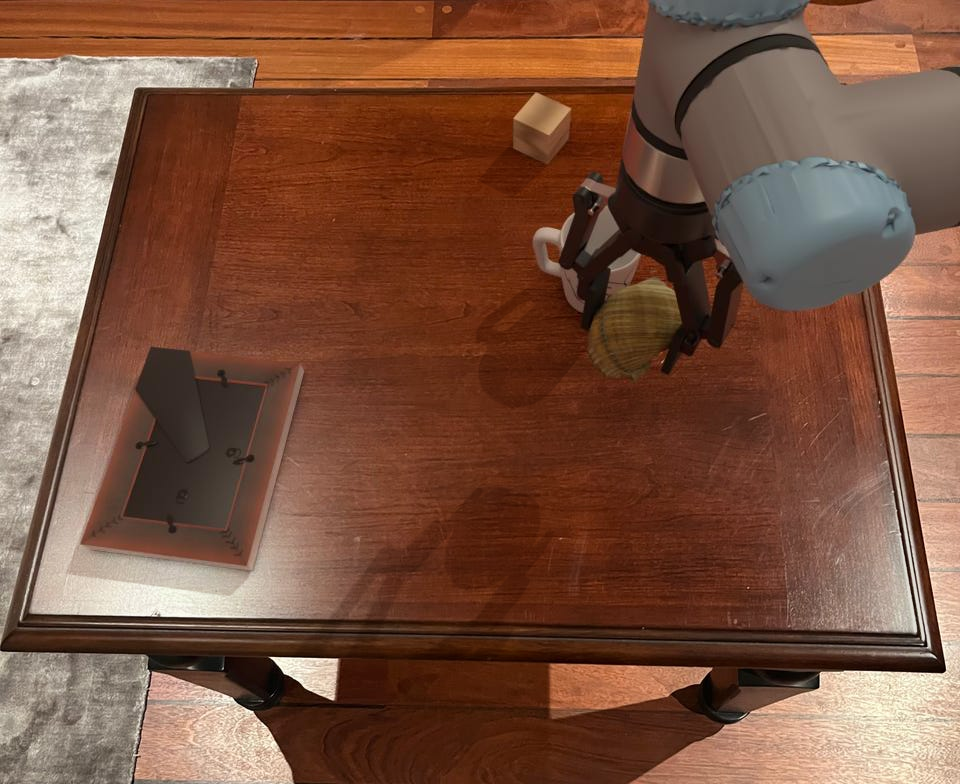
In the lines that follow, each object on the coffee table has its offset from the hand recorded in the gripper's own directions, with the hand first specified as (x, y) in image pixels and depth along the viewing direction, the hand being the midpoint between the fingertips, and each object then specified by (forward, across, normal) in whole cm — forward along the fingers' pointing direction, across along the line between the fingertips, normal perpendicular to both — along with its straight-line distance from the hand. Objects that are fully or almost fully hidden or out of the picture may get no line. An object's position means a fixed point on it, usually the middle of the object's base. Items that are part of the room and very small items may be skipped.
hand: (631, 339), depth 71 cm
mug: (+13, +10, -10) cm, 20 cm away
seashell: (0, 0, 0) cm, 1 cm away
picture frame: (+13, +32, +28) cm, 45 cm away
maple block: (+13, +25, -26) cm, 38 cm away
